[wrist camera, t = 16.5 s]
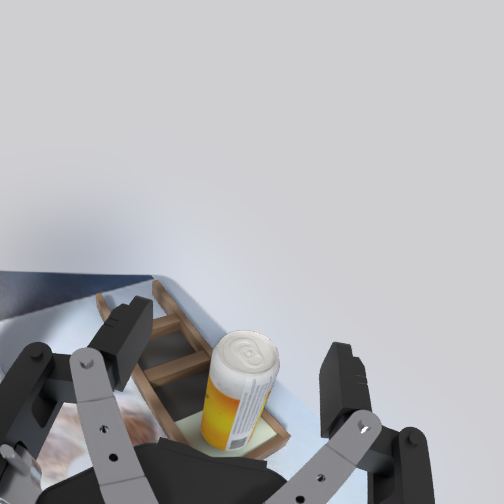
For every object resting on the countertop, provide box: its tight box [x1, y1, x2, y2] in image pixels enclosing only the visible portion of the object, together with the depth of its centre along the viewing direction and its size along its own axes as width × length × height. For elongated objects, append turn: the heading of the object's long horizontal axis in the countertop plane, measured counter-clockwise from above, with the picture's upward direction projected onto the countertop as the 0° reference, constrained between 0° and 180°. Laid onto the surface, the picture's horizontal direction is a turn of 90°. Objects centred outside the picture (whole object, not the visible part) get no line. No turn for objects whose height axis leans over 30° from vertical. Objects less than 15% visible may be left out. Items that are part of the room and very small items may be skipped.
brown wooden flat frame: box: [96, 280, 291, 460], centre depth 43 cm, size 36×12×3 cm, turn 38°
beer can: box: [201, 330, 280, 451], centre depth 31 cm, size 6×6×15 cm
